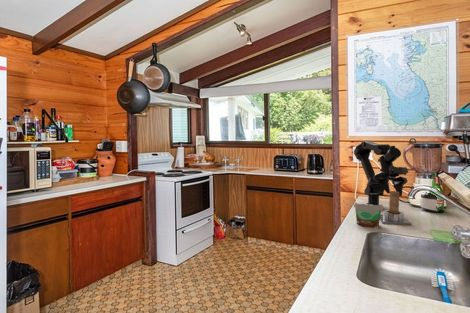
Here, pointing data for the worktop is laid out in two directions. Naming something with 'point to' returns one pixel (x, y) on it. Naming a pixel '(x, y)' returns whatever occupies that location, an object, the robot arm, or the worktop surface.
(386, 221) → the bracket
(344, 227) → the worktop surface
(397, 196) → the brown wooden cylinder
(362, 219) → the food container
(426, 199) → the spread jar
